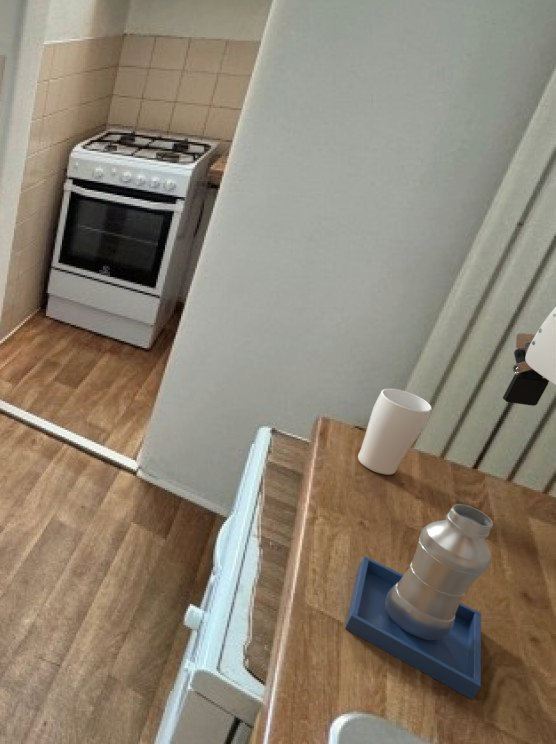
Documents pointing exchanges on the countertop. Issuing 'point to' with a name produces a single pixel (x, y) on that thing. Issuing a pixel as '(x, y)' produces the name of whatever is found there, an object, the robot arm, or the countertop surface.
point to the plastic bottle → (441, 573)
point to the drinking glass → (392, 429)
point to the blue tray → (433, 657)
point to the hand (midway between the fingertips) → (549, 426)
